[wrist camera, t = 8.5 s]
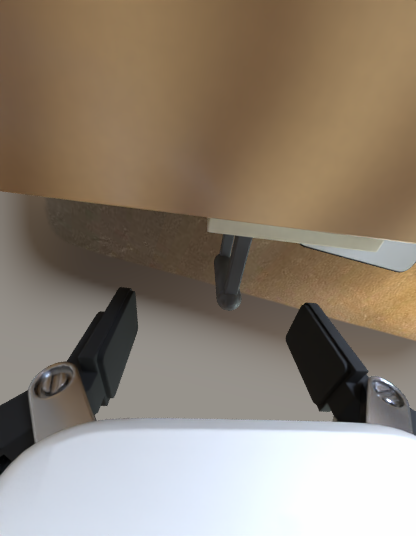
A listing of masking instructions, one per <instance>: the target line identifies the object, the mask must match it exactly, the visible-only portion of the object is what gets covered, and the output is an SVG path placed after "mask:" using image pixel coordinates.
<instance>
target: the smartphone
mask: <svg viewBox="0 0 416 536" xmlns="http://www.w3.org/2000/svg"><path fill="white" fill-rule="evenodd" d="M299 244H300V245H301V246H303V247H306V248H310V249H314V250H317V251H321V252H325V253H329V254H332V255H336V256H340V257H343V258H347V259H351V260H354V261H358V262H362V263H365V264H369V265H373V266H376V267H380V268H384V269H387V270H391V271H395V272H404V271H406V270H408V269H410V268H411V267H412V266H413V265H414V264H415V263H416V244H411V243H403V242H395V241H387V240H384V242H383V243H382V245H381V246H380V248H379V250H378V251H377V252H368V251H359V250H351V249H343V248H335V247H327V246H318V245H310V244H302V243H299Z"/></svg>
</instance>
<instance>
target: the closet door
mask: <svg viewBox="0 0 416 536" xmlns="http://www.w3.org/2000/svg"><path fill="white" fill-rule="evenodd" d="M207 231H208V232H212V233H220V234H223V238H222V244H221V249H220V254H218V255H217V256H216V257H215V260H214V269H215V282H216V295H217V302H218V304H219V306H220V307H221V308H222V309H224V310H228V311H230V310H234V309H236V308H237V307H238V306H239V305H240V303H241V293H240V289H239V287H240V283H241V279H242V276H243V272H244V268H245V264H246V261H247V257H248V253H249V249H250V245H251V242H252V238H261V239H269V240H277V241H286V242H294V243H302V244H310V245H318V246H327V247H335V248H343V249H351V250H359V251H368V252H377V251H378V250H379V248H380V246H381V245H382V243H383V242H384V240H379V239H371V238H363V237H356V236H348V235H340V234H332V233H324V232H316V231H309V230H301V229H293V228H285V227H277V226H269V225H262V224H254V223H246V222H238V221H230V220H222V219H214V218H207ZM234 235H235V239H234ZM233 240H234V244H233ZM232 244H233V248H232ZM231 249H232V253H231ZM230 254H231V256H230Z"/></svg>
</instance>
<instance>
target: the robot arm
mask: <svg viewBox="0 0 416 536" xmlns="http://www.w3.org/2000/svg"><path fill="white" fill-rule="evenodd" d="M137 331H138V321H137V308H136V296H135V291H132V289H131V288H122V287H120V288H119V289H118V290H117V292H116V294H115V295H114V297H113V299H112V300H111V302H110V304H109V306H108V307H107V309H106V311H105V312H98V314H97V315H96V316H95V318H94V319H93V321H92V322H91V324H90V326H89V327H88V329H87V330H86V332H85V334H84V335H83V337H82V338H81V340H80V341H79V343H78V345H77V346H76V348H75V350H74V351H73V352H72V354H71V356H70V357H69V359H68V360H67V362H58V363H55V364H53V365H50V366H48V367H47V368H45V369H43V370H42V371H41V372H40V373H38V374H37V375H36V376H35V378H34V379H33V380H32V382H31V384H30V386H29V389H28V390H27V391H25V392H24V393H22V394H20V395H18V396H17V397H15V398H13V399H11V400H9V401H8V402H6V403H4V404H2V405H0V536H416V411H414V410H412V409H411V408H410V407H409V403H408V400H407V399H406V397H405V396H404V394H403V393H402V392H401V391H400V390H399V389H398V388H397V387H396V386H395V385H393V384H392V383H391V382H389V381H388V380H386V379H384V378H382V377H378V376H371V377H368V376H367V373H368V370H367V369H366V367H365V366H364V365H363V363H362V362H361V361H360V359H359V358H358V357H357V355H356V354H355V353H354V352H353V350H352V349H351V348H350V346H349V345H348V344H347V343H346V341H345V340H344V339H343V337H342V336H341V334H340V333H339V332H338V330H337V329H336V328H335V326H334V325H333V324H332V323H331V321H330V320H329V319H328V317H327V316H326V315H325V313H324V312H323V311H322V309H321V308H320V307H319V305H318V304H316V303H305V304H304V305H302V306H301V307H300V309H299V311H298V313H297V315H296V317H295V319H294V321H293V323H292V325H291V327H290V329H289V331H288V333H287V335H286V342H287V345H288V347H289V349H290V351H291V354H292V356H293V358H294V360H295V362H296V365H297V367H298V369H299V372H300V374H301V376H302V378H303V380H304V383H305V385H306V387H307V390H308V392H309V394H310V396H311V398H312V400H313V402H314V403H315V404H316V405H317V407H318V409H319V411H323V412H324V411H325V412H330V411H332V413H333V415H334V417H333V422H327V421H289V420H288V421H287V420H244V419H243V420H242V419H241V420H240V419H186V418H123V419H106V420H98V421H96V418H95V414H96V413H98V411H99V408H100V406H107V405H108V402H109V400H110V398H114V396H115V394H116V391H117V389H118V386H119V383H120V380H121V377H122V374H123V371H124V369H125V365H126V363H127V360H128V357H129V354H130V351H131V348H132V346H133V343H134V340H135V337H136V334H137Z"/></svg>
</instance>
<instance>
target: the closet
mask: <svg viewBox="0 0 416 536" xmlns="http://www.w3.org/2000/svg"><path fill="white" fill-rule="evenodd" d="M0 191H3V192H11V193H18V194H26V195H34V196H42V197H50V198H58V199H65V200H73V201H81V202H89V203H97V204H105V205H113V206H120V207H128V208H136V209H144V210H152V211H160V212H167V213H175V214H183V215H191V216H199V217H207V218H214V219H222V220H230V221H238V222H246V223H254V224H262V225H269V226H277V227H285V228H293V229H301V230H309V231H316V232H324V233H332V234H340V235H348V236H356V237H363V238H371V239H379V240H387V241H395V242H403V243H411V244H416V0H0Z"/></svg>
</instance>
